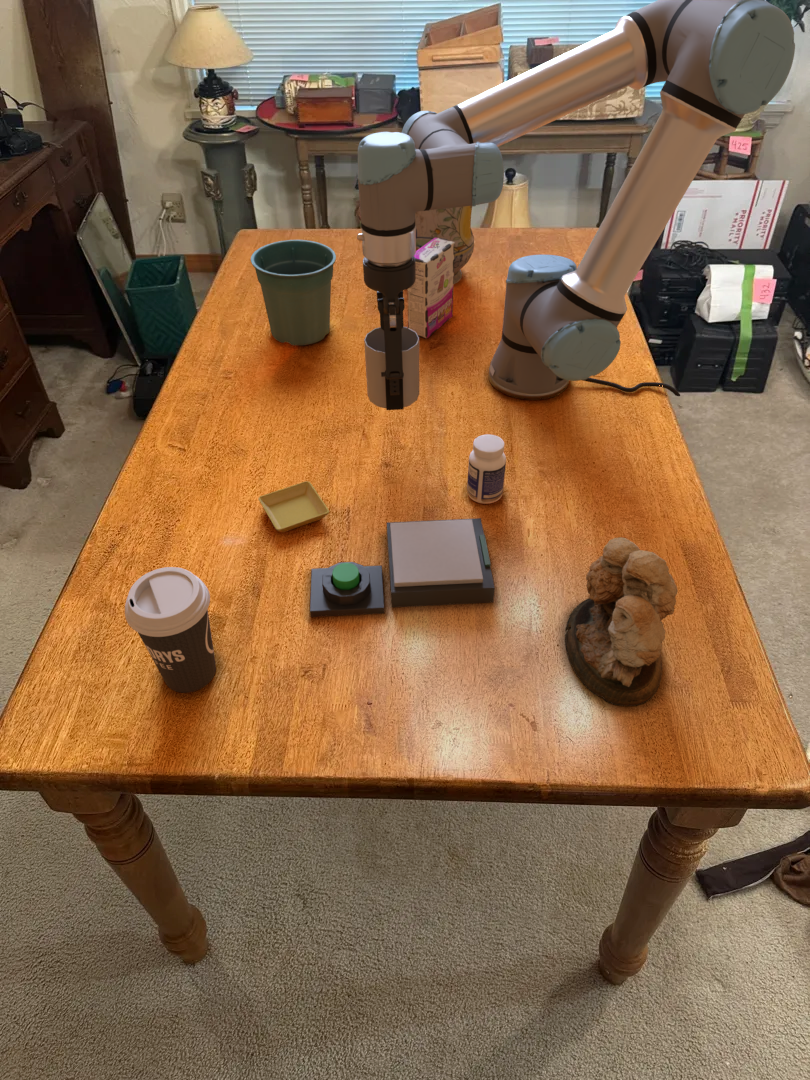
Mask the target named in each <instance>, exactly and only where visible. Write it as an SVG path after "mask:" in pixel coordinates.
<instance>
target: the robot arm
mask: <svg viewBox="0 0 810 1080" xmlns="http://www.w3.org/2000/svg"><path fill="white" fill-rule="evenodd" d="M795 52H796V43H795V31H794V27H793V24H792V21H791V19H790V18H789V16H788V15H787V13H786V12H785V11H784V10H782V9H781V8H779V7H778V6H777V5H774V4H772V3H771V2H769V1H768V0H655V1H653V2H651V3H649V4H647V5H644V6H642V7H640V8H637V9H635V10H634V11H632V12H630V13H628V14H625V15H623V16H621V17H620V18H619V19H618V20H617V22H616V24H615V26H614V28H613V30H610V31H609V32H606V33H604V34H602V35H600V36H598V37H596V38H593V39H592V40H589V41H588V42H584V43H583V44H581V45H578V46H577V47H575V48H573V49H571V50H569V51H566V52H564V53H562V54H561V55H558V56H556V57H553V58H552V59H550V60H548V61H545V62H543V63H541V64H539V65H537V66H535V67H533V68H531V69H529V70H527V71H524V72H522V73H521V74H518V75H516V76H514V77H513V78H510V79H508V80H506V81H503V82H502V83H499V84H498V85H496V86H493V87H491V88H489V89H487V90H485V91H483V92H481V93H478V94H477V95H474V96H472V97H470V98H468V99H466V100H464V101H463V102H460V103H458V104H455V105H453V106H451V107H449V108H447V109H444V110H442V111H440V112H438V113H437V112H435V111H431V110H420V111H418V112H416V113H414V114H412V115H411V116H409V118H408V119H407V120H406V122H405V123H404V125H403V127H402V130H401V132H399V131H394V132H391V131H378V132H375V133H374V132H373V133H370V134H369V135H366V136H364V137H363V138H362V139H361V140H360V141H359V144H358V146H357V173H356V179H357V185H358V200H359V213H360V227H361V228H360V229H361V230H360V231H361V233H357V235H356V236H357V237H356V239H357V240H358V241H359V242H362V243H361V247H362V255H363V259H362V270H363V271H362V272H363V282H364V284H365V286H366V287H367V288H369V289H370V290H371V291H375V292H376V302H377V310H378V314H379V327H381V329H382V330H384V341H385V362H386V371H385V372H381V377H385V387H386V408H385V409H386V411H397V410H398V411H399V410H400V411H401V410H404V408H405V407H404V404H403V376H404V373H403V361H402V328H403V327H405V325H404V310H405V308H406V307H405V298H404V291H407V289H408V288H410V287H411V286H412V285H413V284H414V283H415V280H416V259H415V257H414V255H415V253H416V224H415V214H416V212H418V211H428V210H436V209H445V208H455V207H464V206H472V207H476V206H479V205H485V204H490V203H494V202H495V201H497V200H498V199H499V197H500V196H501V194H502V191H503V187H504V181H505V167H504V166H505V165H504V159H503V155H502V151H501V150H500V148H499V147H501V146H503V145H505V144H507V143H510V142H511V141H513V140H516V139H517V138H521V137H522V136H524V135H526V134H528V133H531V132H533V131H535V130H537V129H539V128H541V127H544V126H546V125H548V124H550V123H552V122H555V121H556V120H559V119H561V118H562V117H565V116H568V115H569V114H572V113H574V112H577V111H578V110H580V109H582V108H584V107H586V106H589V105H592V104H593V103H596V102H597V101H600V100H602V99H604V98H606V97H608V96H611V95H612V94H615V93H617V92H619V91H621V90H623V89H626V88H627V87H629V88H631V89H633V90H634V91H638V90H641V89H643V88H645V87H648V86H651V85H652V84H656V83H662V82H663V83H664V84H663V86H662V87H661V90H660V91H659V93H660V94H659V96H660V101H661V107H662V109H661V112H660V115H659V116H658V118H657V120H656V122H655V124H654V126H652V127H653V128H652V130H651V131H650V132H649V134H648V137H647V139H646V140H645V142H644V144H643V146H642V148H641V150H639V151H640V152H639V153H638V155H637V157H636V159H635V161H634V162H633V164H632V166H631V168H630V169H629V171H628V174H627V175H626V177H625V179H624V181H623V183H622V185H621V187H620V188H619V190H618V192H617V194H616V196H615V198H614V199H613V201H612V203H611V205H610V207H609V208H608V211H607V212H606V214H605V216H604V217H603V219H602V222H601V223H600V225H599V227H598V228H597V231H596V232H595V235H594V236H593V238H592V240H591V242H590V244H589V246H588V247H587V249H586V251H585V252H584V255H583V257H582V259H581V260H580V262H579V264H578V266H577V264H576V262H575V261H574V260H572V259H571V258H568V257H566V256H561V255H555V254H530V255H525V256H521V257H519V258H517V259H515V260H514V261H512V262H511V263H510V265H509V267H508V271H507V276H506V279H505V295H504V305H503V306H504V308H503V317H502V329H501V330H502V331H501V339H500V341H499V343H498V345H497V347H496V350H495V352H494V354H493V356H492V358H491V361H490V364H489V367H488V381H489V383H490V384H491V386H492V387H493V388H494V389H496V390H497V391H498V392H500V393H502V394H503V395H505V396H509V397H511V398H514V399H519V400H526V401H539V400H546V399H551V398H553V397H557V396H558V395H560V394H561V393H563V392H564V391H565V390H567V388H568V386H569V383H570V382H578V381H583V382H588V383H591V384H592V383H593V384H598V385H603V386H607V387H611V388H614V389H617V390H619V391H622V392H624V393H633V392H636V391H638V390H639V389H640V388H644V387H656V388H663V389H666V390H668V391H670V392H671V393H672V394H673V395H674V396H675V397H681V394H680V392H679V391H678V390H677V389H676V388H675V387H674V386H672V385H670V384H667V383H665V382H656V381H653V382H652V381H651V382H650V381H647V382H646V381H645V382H639V383H637V384H636V385H635V386H632V387H626V386H623V385H620V384H618V383H615V382H611V381H608V380H603V379H598V378H593V377H595V376H598V375H599V374H600V373H602V372H603V371H605V370H606V369H608V368H609V366H610V365H611V364H612V363H613V362H614V361H615V359H616V358H617V356H618V354H619V352H620V348H621V344H622V341H621V339H620V338H621V335H620V331H619V330H618V326H619V325H620V323H621V322H622V319H623V318H624V316H625V315H626V313H627V311H628V307H627V302H626V297H625V296H626V295H627V292H628V291H629V289H630V287H631V286H632V284H633V282H634V281H635V279H636V277H637V276H638V274H639V273H640V270H641V268H642V267H643V266H644V263H645V261H647V259H648V257H649V255H650V253H651V251H652V250H653V248H654V247H655V246H656V243H657V241H658V240H659V238H660V236H661V235H662V234H663V231H664V230H665V228H666V227H667V225H668V223H669V221H670V220H671V218H672V216H673V215H674V213H675V211H676V210H677V208H678V206H679V204H680V203H681V201H682V199H683V198H684V196H685V194H686V193H687V191H688V189H689V188H690V186H691V184H692V182H693V181H694V179H695V177H696V176H697V175H698V172H699V171H700V169H701V167H702V165H703V164H704V162H705V161H706V159H707V157H708V155H709V154H710V152H711V150H712V148H713V147H714V146H715V143H716V142H717V140H718V139H720V138H722V137H723V136H726V135H729V134H731V133H735V131H736V130H737V128H738V127H739V125H740V123H741V122H742V120H743V118H744V117H745V115H748V114H751V113H755V112H757V111H758V110H760V108H761V107H762V106H767V105H768V104H769V103H770V102H771V101H772V100H774V98H775V97H776V96H777V95H778V93H779V92H780V91H781V90H782V88H783V86H784V85H785V83H786V81H787V79H788V77H789V75H790V72H791V69H792V66H793V63H794V59H795V54H796V53H795ZM592 376H593V377H592ZM659 385H660V386H659ZM662 385H663V387H662Z"/></svg>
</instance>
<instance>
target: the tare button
mask: <svg viewBox="0 0 810 1080" xmlns="http://www.w3.org/2000/svg"><path fill="white" fill-rule="evenodd" d="M332 575H333V583H334V585H335V587H336V588H338V589H340V590H351V589H353V588H355V587H356V586H357V585H358V584H359V570H358V568H357V567H356V566H355V565H354V564H351V563H342V564H339V565H337V566H336V567H335V568H334V569H333V572H332Z"/></svg>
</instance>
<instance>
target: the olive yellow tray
mask: <svg viewBox="0 0 810 1080" xmlns="http://www.w3.org/2000/svg"><path fill="white" fill-rule="evenodd" d="M258 501H259V503H260V505H261V506H262V508H263V510H264V511H265V513H266V514H267V516H268V518H269V520H270V521H271V524H272V526H273V527H274V529H275V530H276V531H277V532H280V533H286V532H289V531H291V530H294V529H297V528H300V527H302V526H306V525H308V524H311V523H314V522H316V521H319V520H322V519H323V518H325V517H326V516H327V515H328V514H330V510H329V508H328V506H327V505H326V503H325V502H324V500H323V499H322V498H321V496H320V494H319V493H318V491H317V490H316V489H315V487H314V486H313V484H312V483H311V481H307V480H305V481H301V482H299V483H296V484H293V485H290V486H287V487H284V488H281V489H277V490H275V491H271V492H269V493H266V494H263V495H259V497H258Z"/></svg>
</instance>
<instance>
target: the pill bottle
mask: <svg viewBox="0 0 810 1080" xmlns="http://www.w3.org/2000/svg"><path fill="white" fill-rule="evenodd" d="M504 451H505V441H504V440H503V439H502V437H500V436H498V435H495V434H491V433H490V434H488V433H486V434H481V435H479V436H477V437H475V438H474V440H473V442H472V450H471V451H470V453H469V456H468V469H467V470H468V471H467V484H466V485H467V486H466V492H467V495H468V497H469V498H470V499H471V500H472V501H474V502H476V503H478V504H484V505H485V504H486V505H488V504H493V503H496V502H497V501H499V500H500V499H501V498H502V496H503V494H504V487H505V478H506V477H505V476H506V468H507V467H506V466H507V456H506V454H505V452H504Z"/></svg>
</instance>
